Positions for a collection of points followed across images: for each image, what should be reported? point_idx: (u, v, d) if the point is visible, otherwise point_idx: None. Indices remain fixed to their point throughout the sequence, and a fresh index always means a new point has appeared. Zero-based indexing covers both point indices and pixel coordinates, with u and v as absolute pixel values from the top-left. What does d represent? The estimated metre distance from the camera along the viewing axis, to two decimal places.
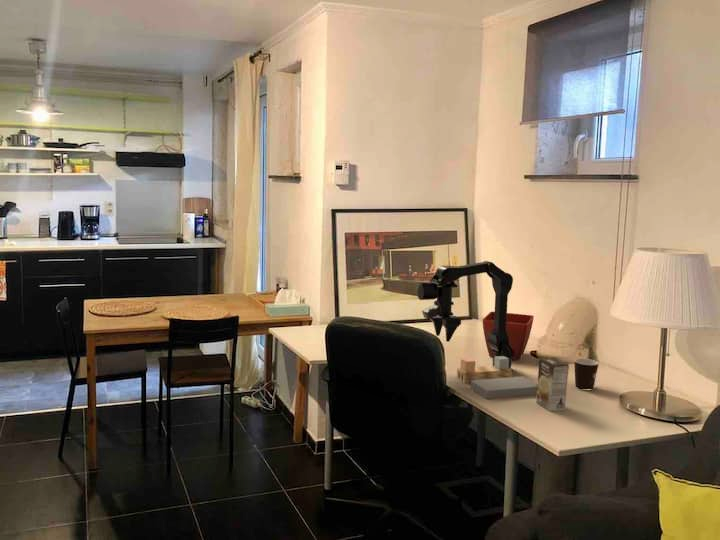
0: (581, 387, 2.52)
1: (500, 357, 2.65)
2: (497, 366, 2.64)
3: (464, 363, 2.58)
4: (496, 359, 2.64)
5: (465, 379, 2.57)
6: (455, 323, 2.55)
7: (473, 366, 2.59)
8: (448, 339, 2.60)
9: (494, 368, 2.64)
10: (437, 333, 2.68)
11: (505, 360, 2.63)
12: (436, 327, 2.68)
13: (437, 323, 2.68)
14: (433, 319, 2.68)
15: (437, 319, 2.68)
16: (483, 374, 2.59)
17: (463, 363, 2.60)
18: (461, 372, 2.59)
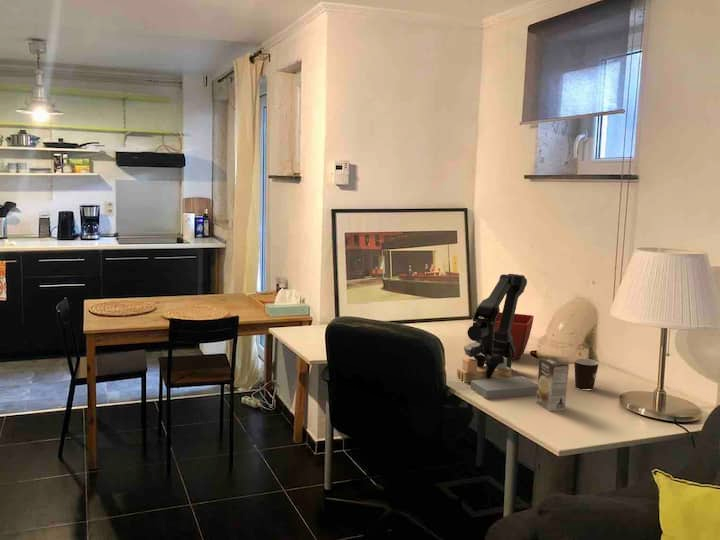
0: (581, 387, 2.52)
1: None
2: None
3: (466, 363, 2.59)
4: None
5: (465, 379, 2.57)
6: (498, 361, 2.53)
7: (475, 366, 2.59)
8: (489, 376, 2.59)
9: None
10: None
11: None
12: (478, 364, 2.66)
13: (479, 360, 2.66)
14: (475, 356, 2.65)
15: (480, 356, 2.66)
16: (483, 374, 2.59)
17: (465, 363, 2.60)
18: (461, 372, 2.59)
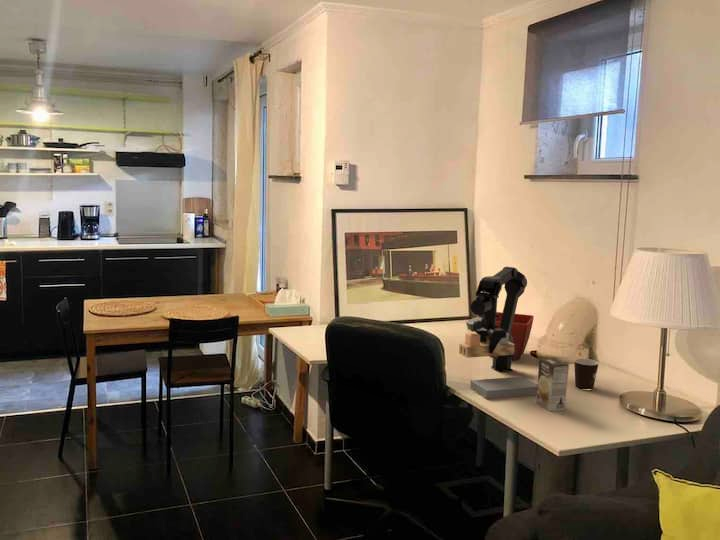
0: (581, 387, 2.52)
1: None
2: None
3: (469, 337, 2.57)
4: None
5: (467, 353, 2.55)
6: (501, 336, 2.51)
7: (478, 340, 2.57)
8: (491, 351, 2.57)
9: None
10: None
11: None
12: (481, 340, 2.63)
13: (482, 336, 2.63)
14: (478, 332, 2.63)
15: (482, 332, 2.63)
16: (485, 348, 2.57)
17: (467, 338, 2.58)
18: (463, 346, 2.57)
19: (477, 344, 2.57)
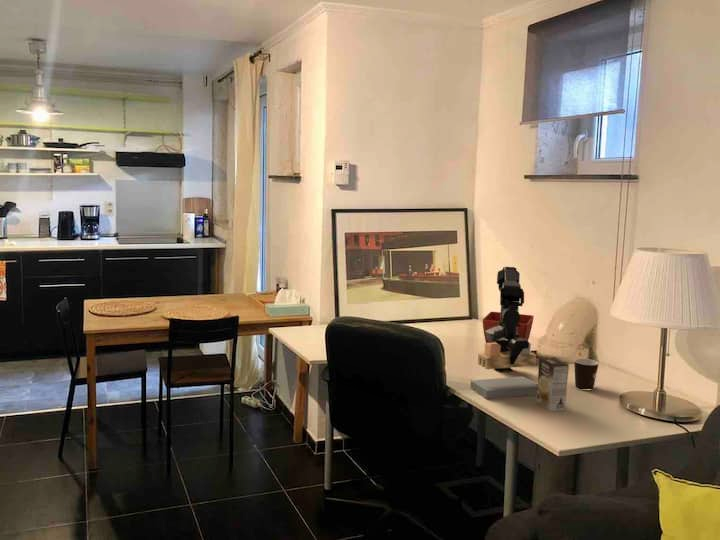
0: (581, 387, 2.52)
1: None
2: None
3: (489, 347, 2.42)
4: None
5: (487, 365, 2.41)
6: (523, 346, 2.37)
7: (498, 351, 2.43)
8: (512, 362, 2.43)
9: None
10: None
11: None
12: (501, 350, 2.49)
13: (502, 346, 2.49)
14: (498, 341, 2.49)
15: (502, 342, 2.49)
16: (506, 359, 2.43)
17: (487, 348, 2.43)
18: (483, 357, 2.43)
19: (497, 355, 2.43)
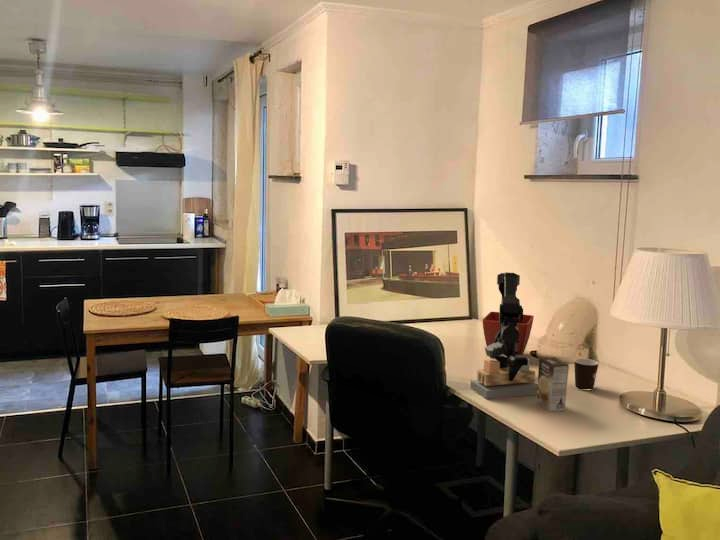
0: (581, 387, 2.52)
1: None
2: None
3: (488, 364, 2.43)
4: None
5: (486, 381, 2.41)
6: (522, 363, 2.38)
7: (497, 367, 2.43)
8: (511, 378, 2.44)
9: None
10: None
11: None
12: (500, 366, 2.50)
13: (501, 362, 2.50)
14: (497, 358, 2.50)
15: (501, 358, 2.50)
16: (505, 376, 2.44)
17: (486, 364, 2.44)
18: (482, 374, 2.44)
19: (496, 371, 2.43)
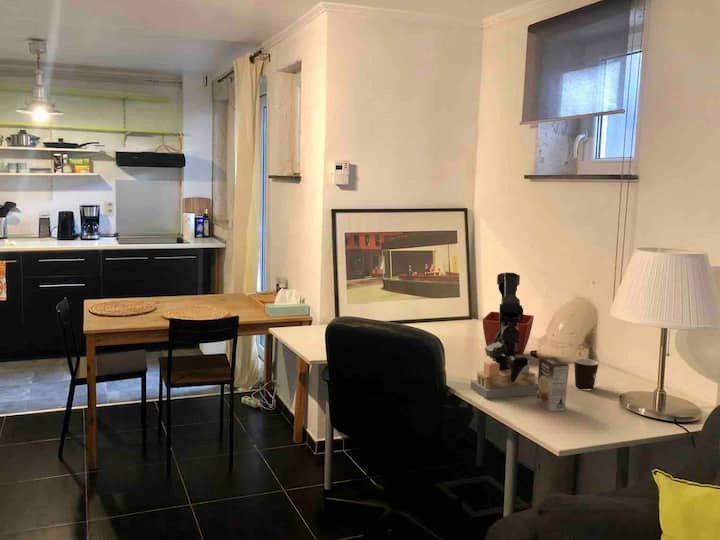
0: (581, 387, 2.52)
1: None
2: None
3: (488, 366, 2.43)
4: None
5: (486, 383, 2.42)
6: (522, 363, 2.38)
7: (497, 369, 2.44)
8: (513, 379, 2.43)
9: None
10: None
11: None
12: None
13: (499, 361, 2.51)
14: (495, 357, 2.51)
15: (499, 357, 2.51)
16: (505, 378, 2.44)
17: (486, 366, 2.44)
18: (482, 376, 2.44)
19: (496, 373, 2.44)
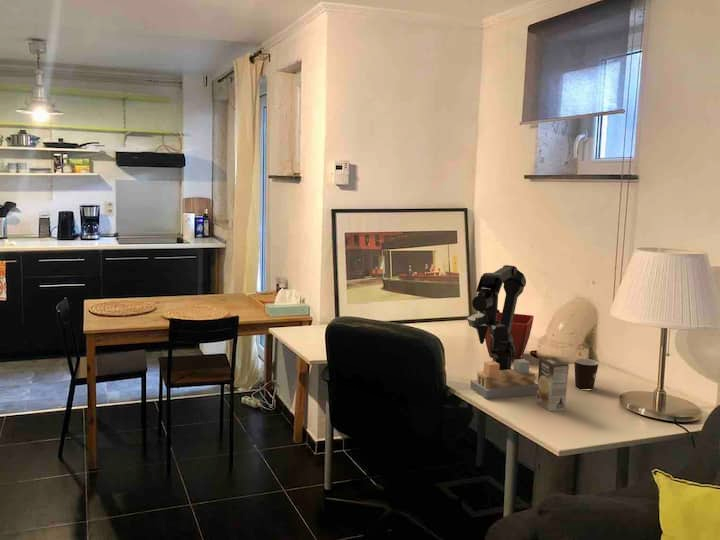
0: (581, 387, 2.52)
1: (520, 360, 2.49)
2: (517, 370, 2.48)
3: (488, 366, 2.43)
4: (516, 362, 2.48)
5: (486, 383, 2.42)
6: (503, 332, 2.51)
7: (497, 369, 2.44)
8: (494, 348, 2.55)
9: (516, 372, 2.48)
10: (481, 341, 2.64)
11: (525, 363, 2.47)
12: (480, 335, 2.64)
13: (481, 331, 2.64)
14: (477, 327, 2.63)
15: (481, 327, 2.64)
16: (505, 378, 2.44)
17: (486, 366, 2.44)
18: (482, 376, 2.44)
19: (496, 373, 2.44)
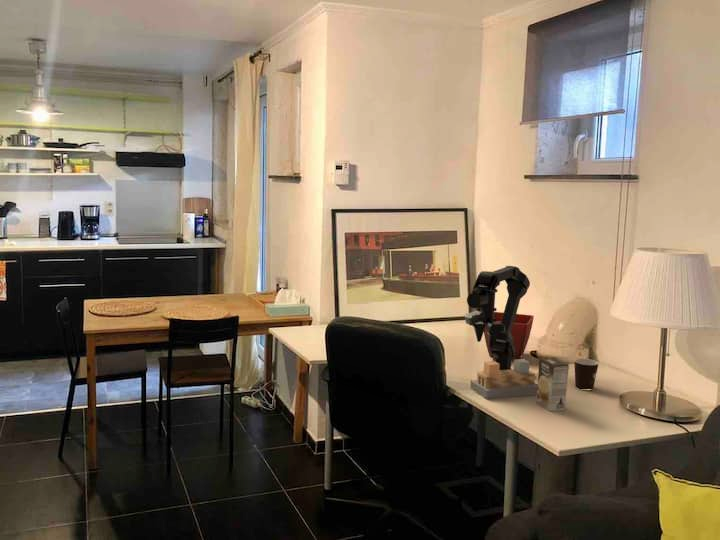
0: (581, 387, 2.52)
1: (520, 360, 2.49)
2: (517, 370, 2.48)
3: (488, 366, 2.43)
4: (516, 362, 2.48)
5: (486, 383, 2.42)
6: (499, 329, 2.52)
7: (497, 369, 2.44)
8: (491, 345, 2.57)
9: (516, 372, 2.48)
10: (478, 339, 2.66)
11: (525, 363, 2.47)
12: (477, 333, 2.66)
13: (478, 329, 2.66)
14: (474, 325, 2.65)
15: (479, 325, 2.66)
16: (505, 378, 2.44)
17: (486, 366, 2.44)
18: (482, 376, 2.44)
19: (496, 373, 2.44)
